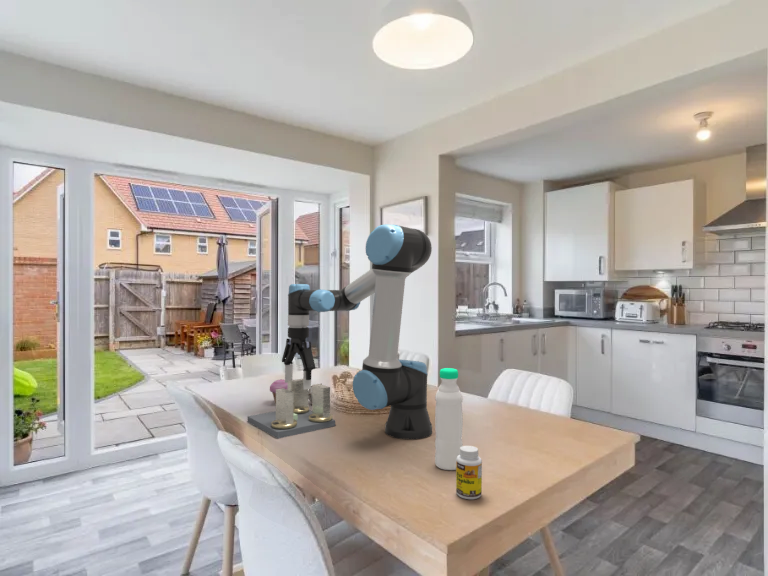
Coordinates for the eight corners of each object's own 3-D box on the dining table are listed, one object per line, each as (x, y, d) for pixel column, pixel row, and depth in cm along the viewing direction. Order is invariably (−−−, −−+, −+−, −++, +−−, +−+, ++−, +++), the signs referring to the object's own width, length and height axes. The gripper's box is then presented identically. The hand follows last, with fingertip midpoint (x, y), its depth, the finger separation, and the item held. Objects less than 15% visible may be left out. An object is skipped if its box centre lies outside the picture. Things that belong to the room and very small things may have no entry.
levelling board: (335, 425, 149) (335, 414, 149) (277, 438, 135) (277, 425, 135) (301, 411, 166) (301, 401, 166) (247, 421, 153) (247, 410, 153)
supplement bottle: (451, 496, 97) (452, 449, 97) (462, 487, 102) (462, 442, 102) (475, 503, 94) (475, 454, 94) (485, 493, 98) (485, 447, 99)
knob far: (302, 406, 165) (302, 377, 165) (313, 411, 159) (313, 380, 159) (282, 410, 160) (282, 379, 160) (293, 414, 154) (293, 383, 154)
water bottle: (429, 465, 114) (429, 368, 115) (446, 458, 119) (446, 365, 120) (451, 473, 109) (451, 372, 110) (468, 466, 114) (468, 369, 115)
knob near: (301, 425, 141) (301, 391, 141) (278, 430, 136) (278, 394, 136) (289, 420, 147) (289, 386, 147) (267, 424, 142) (267, 390, 142)
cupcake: (272, 407, 172) (272, 382, 172) (267, 403, 180) (267, 378, 180) (295, 405, 176) (295, 380, 176) (289, 400, 184) (289, 376, 184)
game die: (319, 414, 177) (325, 397, 171) (300, 406, 177) (305, 389, 172) (327, 398, 184) (332, 382, 179) (308, 391, 185) (313, 374, 179)
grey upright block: (337, 419, 149) (337, 386, 149) (316, 423, 143) (317, 389, 144) (324, 414, 155) (324, 382, 155) (304, 418, 150) (304, 385, 150)
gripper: (325, 328, 152) (324, 390, 152) (291, 323, 172) (290, 378, 171) (306, 329, 148) (305, 393, 148) (273, 324, 167) (272, 381, 167)
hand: (297, 385), depth 159 cm, fingers open, 13 cm apart
